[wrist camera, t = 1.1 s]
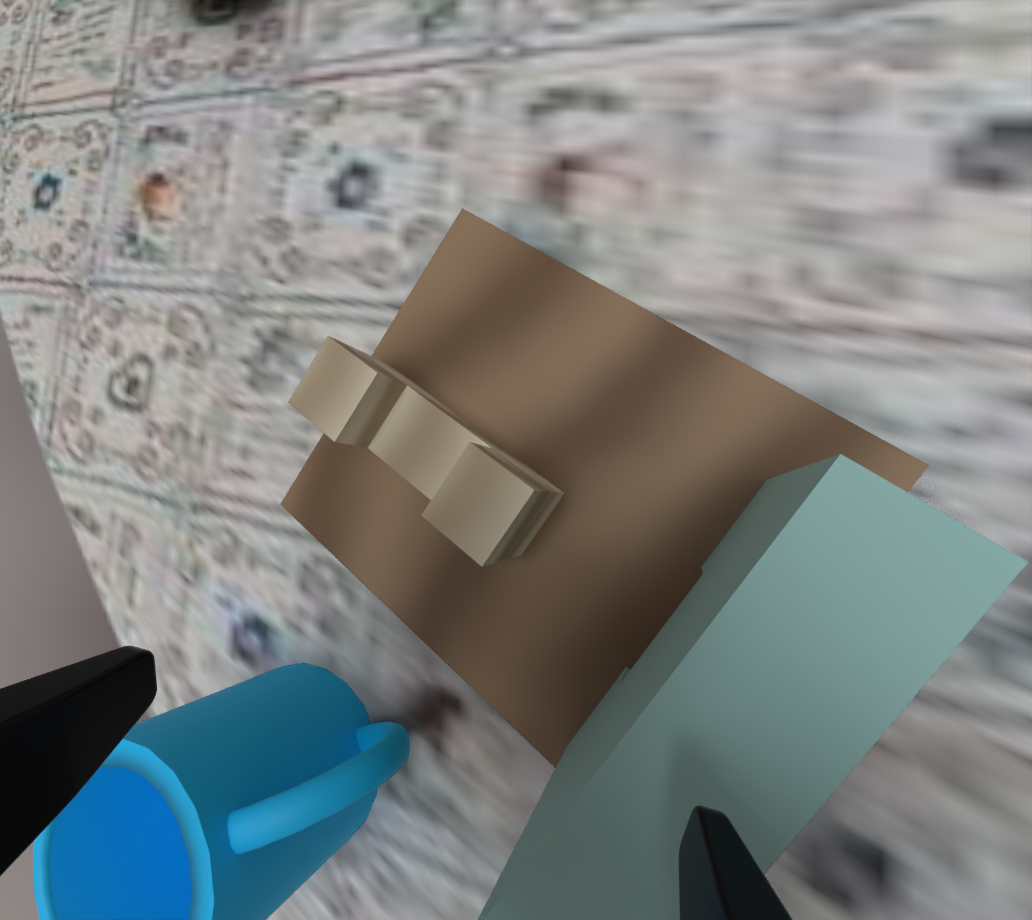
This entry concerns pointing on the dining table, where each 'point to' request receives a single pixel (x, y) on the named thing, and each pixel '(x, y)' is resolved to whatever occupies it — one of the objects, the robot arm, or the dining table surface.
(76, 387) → the dining table surface
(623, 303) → the board
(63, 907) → the mug
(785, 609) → the teal block
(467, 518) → the cream handle bar
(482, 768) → the dining table surface
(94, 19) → the dining table surface
